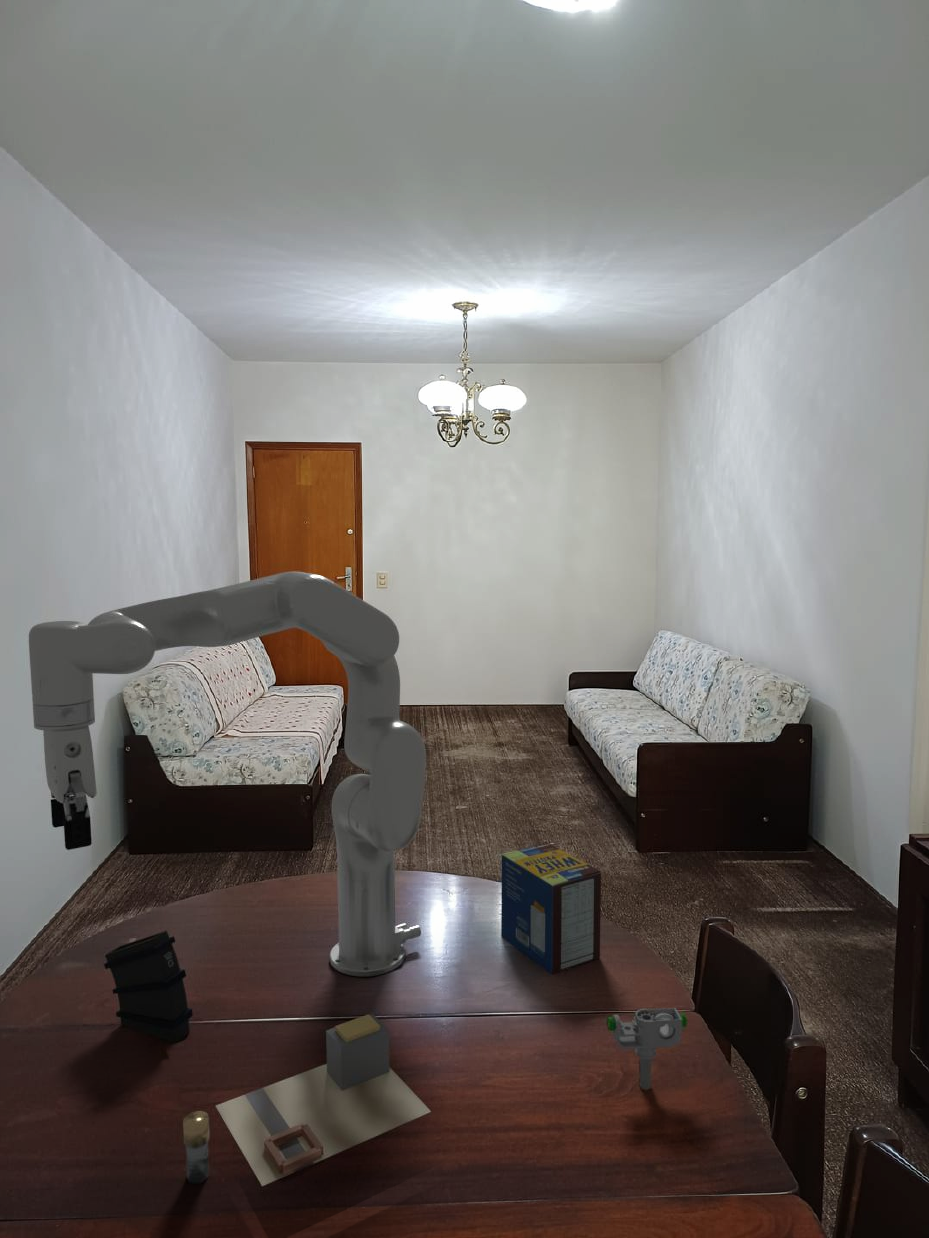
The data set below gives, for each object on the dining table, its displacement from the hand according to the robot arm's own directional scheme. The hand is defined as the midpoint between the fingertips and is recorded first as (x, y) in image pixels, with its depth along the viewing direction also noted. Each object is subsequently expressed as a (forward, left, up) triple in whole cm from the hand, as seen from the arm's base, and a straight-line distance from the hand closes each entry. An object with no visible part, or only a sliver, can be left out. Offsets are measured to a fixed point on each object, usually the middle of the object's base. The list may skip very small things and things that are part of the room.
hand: (71, 835), depth 122 cm
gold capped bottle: (-6, +33, -31) cm, 46 cm away
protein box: (-73, +14, -32) cm, 81 cm away
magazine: (-9, 0, -32) cm, 33 cm away
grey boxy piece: (-29, +28, -30) cm, 50 cm away
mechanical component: (-60, +50, -31) cm, 84 cm away
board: (-22, +32, -31) cm, 50 cm away
